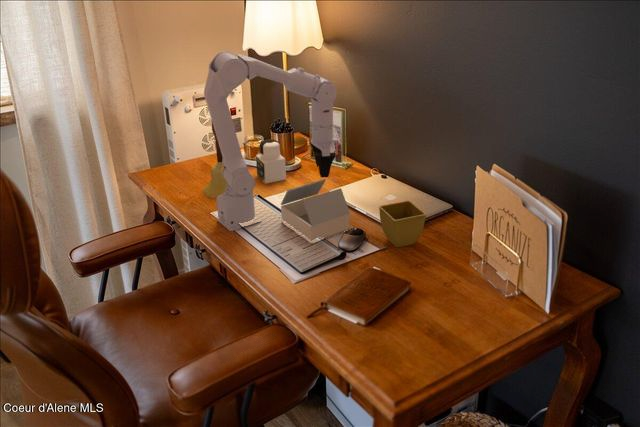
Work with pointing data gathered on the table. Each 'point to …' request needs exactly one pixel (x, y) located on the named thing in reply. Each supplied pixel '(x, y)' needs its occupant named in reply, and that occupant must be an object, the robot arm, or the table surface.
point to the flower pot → (402, 222)
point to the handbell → (216, 174)
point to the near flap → (326, 206)
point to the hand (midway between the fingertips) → (322, 171)
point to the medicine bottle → (270, 162)
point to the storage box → (300, 221)
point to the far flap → (302, 192)
